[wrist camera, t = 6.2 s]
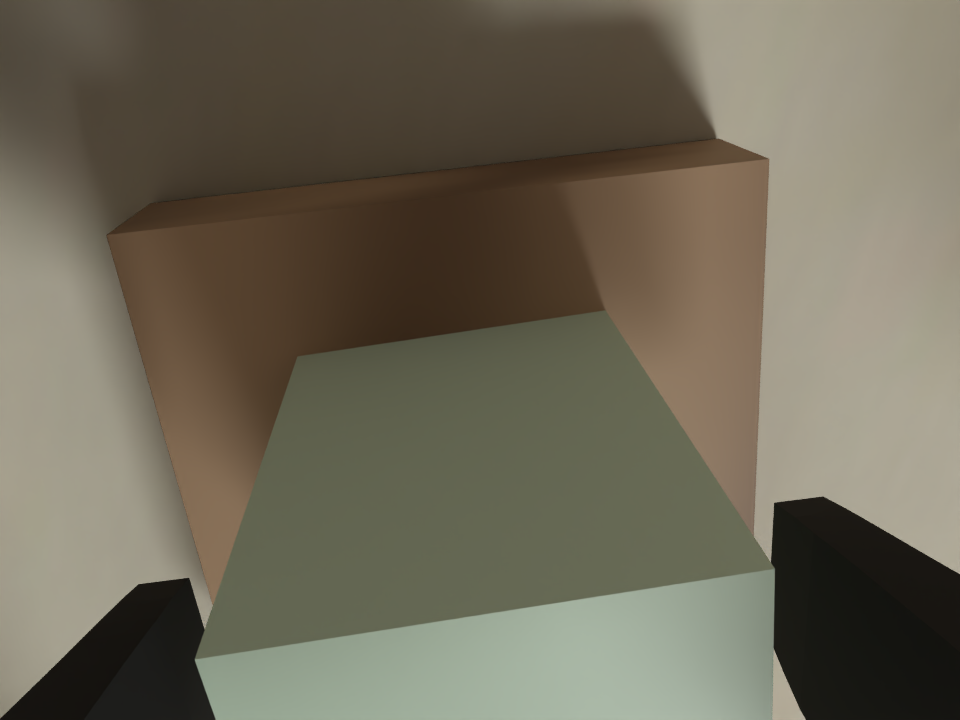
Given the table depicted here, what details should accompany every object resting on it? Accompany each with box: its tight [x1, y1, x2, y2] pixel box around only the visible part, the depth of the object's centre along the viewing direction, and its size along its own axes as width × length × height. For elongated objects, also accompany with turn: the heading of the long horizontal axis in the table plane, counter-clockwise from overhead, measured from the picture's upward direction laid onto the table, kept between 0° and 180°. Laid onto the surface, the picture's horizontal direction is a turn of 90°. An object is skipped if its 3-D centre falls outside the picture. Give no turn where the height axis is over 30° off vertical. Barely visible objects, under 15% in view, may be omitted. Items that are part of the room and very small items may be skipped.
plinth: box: [107, 139, 769, 604], centre depth 14 cm, size 9×9×2 cm
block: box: [195, 310, 775, 720], centre depth 10 cm, size 4×4×6 cm
